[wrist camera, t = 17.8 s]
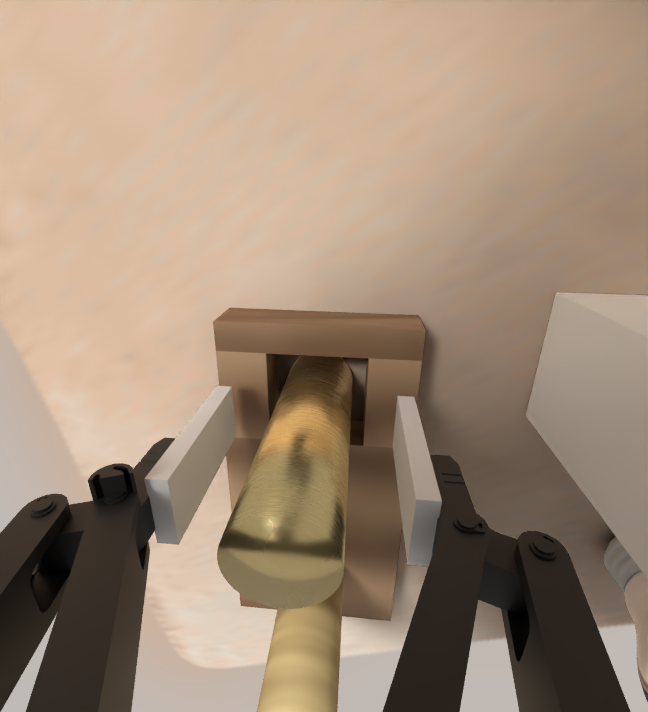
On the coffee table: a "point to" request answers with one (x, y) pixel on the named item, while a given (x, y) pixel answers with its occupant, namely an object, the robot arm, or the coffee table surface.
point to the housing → (599, 406)
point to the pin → (295, 494)
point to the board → (365, 476)
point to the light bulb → (632, 599)
